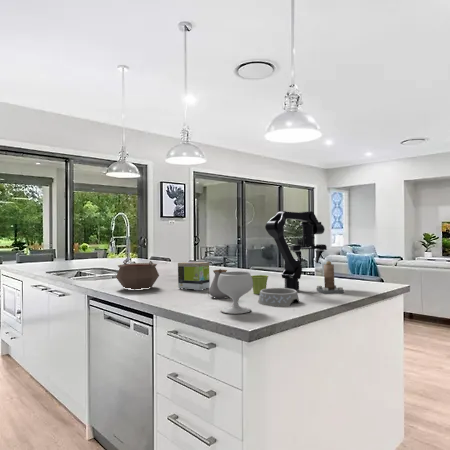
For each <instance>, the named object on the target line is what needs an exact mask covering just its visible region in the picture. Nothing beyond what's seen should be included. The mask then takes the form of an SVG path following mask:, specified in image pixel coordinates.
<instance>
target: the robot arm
mask: <svg viewBox="0 0 450 450" xmlns="http://www.w3.org/2000/svg"><path fill="white" fill-rule="evenodd" d="M287 220H295V221H299V222H301V223H300V224H299V227H302V230H301V231H302V236H301V239H298V238H297V239H296V240H295V244H291V245H290V247H289V245H288V243H287V241H286V238H285V236H284V231H285V230H284V226H285V225H286V221H287ZM264 227H265V228H264V229H265V230H266V232H267V234H268V235H269V236H270V237H271V238H272V239H274V242H275V244H276V246H277V248H278V250H279V252H280V255H281V257H282V259H283V261H284V264H283V265H284V266H283V267H284V270H283V272H282V273H281V278H282V279H284V288H289V289H294V290H296V291H297V292H299V291H300V282H299V280H300V279H301V276H302V273H303V265H302V251H301V250H315V263H316V264H318V263H319V261H320V258H321V256H322V254H323V252H325V251H326V250H328V249H327V245H326V244H321V243H320V244H315V243H314V239H315V236H314V235H322V234H324V232H325V231H326V230H325V226H324V225H323V224H322V221H319V220H318V218H317V216H316V214H315V212H314V211H309V210H307V211H300V212H295V211H287V210H281V211H278V212H276V214H275V215H274V216H273V217H271V218H270V219H269V220H268V221H267V222H266V223H265V226H264ZM292 253H295V255H296V258H297V259H296V258H295V257H294V256H293V254H292Z"/></svg>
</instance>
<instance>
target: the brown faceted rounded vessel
mask: <svg viewBox="0 0 450 450" xmlns="http://www.w3.org/2000/svg"><path fill="white" fill-rule="evenodd" d="M157 265H158V263H153V261H152V260H149V262H135V263H133V262H132V263H128V262H127V260H126V259H124V260H123V262H122V264H119V265H117V267H118V268H119V269H118V271H117V273H116V276H115V278H116V280H117V281H118V283H119V285H121V286H122V288H123V287H125V288H131V289H141V288H149V287H151V288H153V286H154V284H155V283H156V281H157V280H158V278H159V277H160V274H159V272H158V269H157V268H156V267H157Z"/></svg>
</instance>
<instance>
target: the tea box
mask: <svg viewBox="0 0 450 450" xmlns="http://www.w3.org/2000/svg"><path fill="white" fill-rule="evenodd" d="M210 279H211V277H210V262H209V261H183V262H178V263H177V280H178V283H177V285H178V286H177V287H178V288H185V289H184V290H187V289H194V290H193V291H203V290H202V289H205V290H207V289H206V288H209V289H210V287H211V284H210V283H211V282H210V281H211V280H210Z"/></svg>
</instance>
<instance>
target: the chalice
mask: <svg viewBox="0 0 450 450" xmlns="http://www.w3.org/2000/svg"><path fill="white" fill-rule="evenodd" d="M251 276H252V275H251V273H250V272H248V271H226V272H223V273H221V274H220V275H219V278H218V283H217V284H218V288H219V290H220V291H221V292H223V293H224V294H226V295H228V296H229V297H228V298H230V299H232V303H233V304H232V306H226V307H224V308H221V309H219V311H220V312H221V313H224V314H229V315H237V314H240V315H241V314H245V313H250V312H251V311H252V309H251V308H249V307H247V306H240V305H239V300H240V298H242V297H243V296H245V294H248V293H249V292H251V290H253V280H252V277H251Z"/></svg>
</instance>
